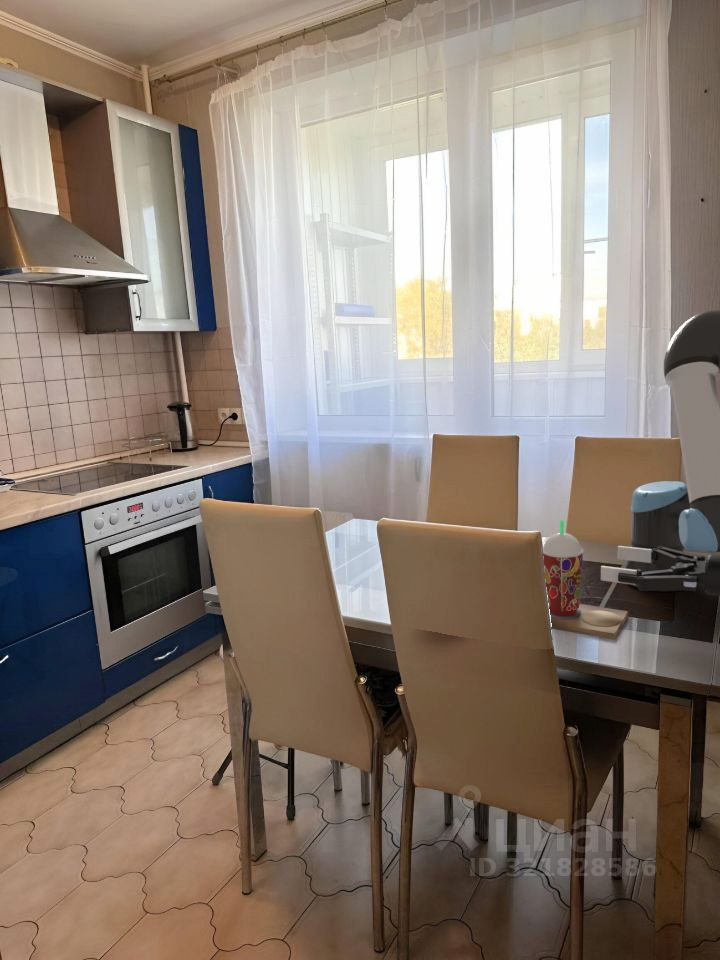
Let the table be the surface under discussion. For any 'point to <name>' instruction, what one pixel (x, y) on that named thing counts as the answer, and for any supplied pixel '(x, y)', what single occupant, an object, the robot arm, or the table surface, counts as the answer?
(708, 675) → the table surface
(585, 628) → the coaster board
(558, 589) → the smoothie
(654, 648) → the table surface
